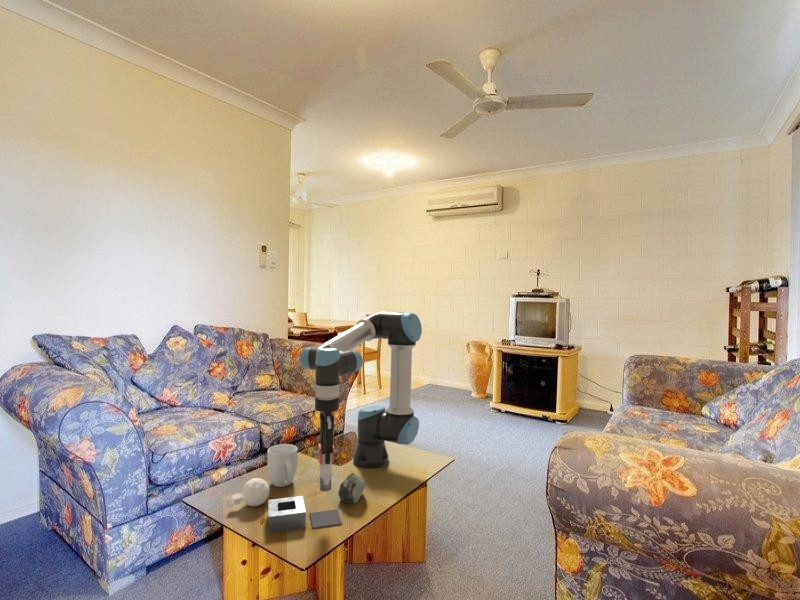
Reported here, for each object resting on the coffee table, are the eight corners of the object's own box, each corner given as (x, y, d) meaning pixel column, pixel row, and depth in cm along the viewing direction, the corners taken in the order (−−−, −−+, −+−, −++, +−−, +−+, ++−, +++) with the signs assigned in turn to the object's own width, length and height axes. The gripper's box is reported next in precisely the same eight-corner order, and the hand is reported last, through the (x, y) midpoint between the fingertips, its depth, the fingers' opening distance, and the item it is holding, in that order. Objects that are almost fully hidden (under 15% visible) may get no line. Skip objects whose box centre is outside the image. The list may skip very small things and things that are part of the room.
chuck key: (336, 484, 141) (337, 441, 141) (339, 490, 137) (339, 446, 137) (312, 487, 139) (312, 444, 138) (313, 493, 134) (314, 448, 134)
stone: (347, 466, 155) (355, 476, 146) (366, 480, 158) (376, 492, 149) (330, 489, 153) (338, 501, 143) (350, 503, 156) (359, 516, 147)
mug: (305, 489, 158) (305, 454, 158) (275, 497, 152) (275, 460, 152) (291, 474, 171) (291, 441, 170) (263, 480, 165) (263, 447, 164)
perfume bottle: (266, 489, 154) (231, 501, 148) (265, 468, 151) (229, 480, 145) (273, 506, 147) (236, 519, 141) (272, 485, 144) (234, 498, 138)
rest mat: (337, 510, 144) (337, 509, 144) (341, 524, 135) (341, 523, 135) (309, 514, 141) (309, 512, 141) (312, 528, 133) (312, 527, 133)
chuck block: (302, 510, 143) (302, 495, 143) (305, 528, 133) (305, 512, 133) (268, 515, 140) (268, 499, 140) (268, 533, 130) (268, 517, 129)
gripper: (312, 391, 144) (311, 460, 145) (318, 404, 128) (317, 483, 128) (334, 390, 147) (333, 458, 147) (343, 403, 130) (342, 480, 130)
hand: (325, 469), depth 138 cm, fingers closed on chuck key, 4 cm apart
